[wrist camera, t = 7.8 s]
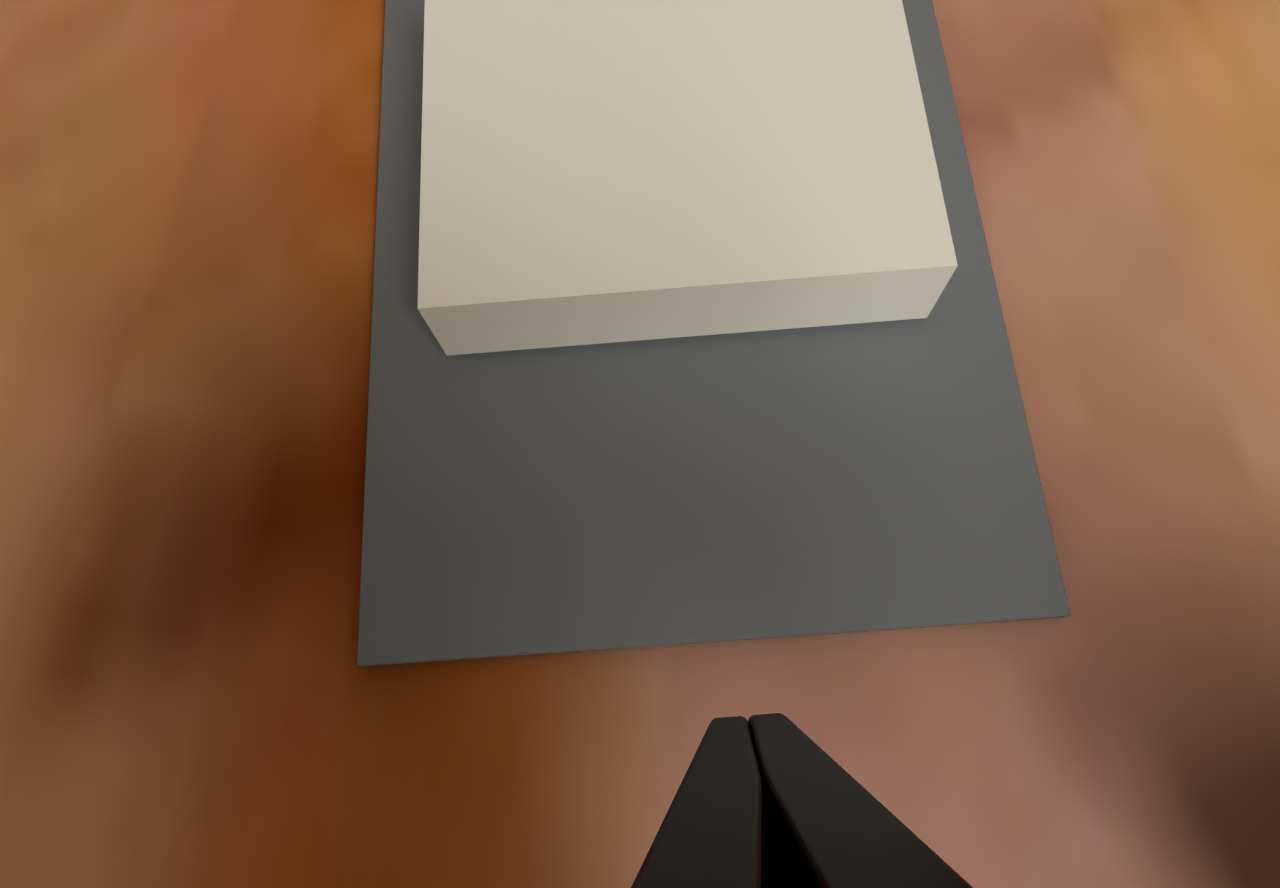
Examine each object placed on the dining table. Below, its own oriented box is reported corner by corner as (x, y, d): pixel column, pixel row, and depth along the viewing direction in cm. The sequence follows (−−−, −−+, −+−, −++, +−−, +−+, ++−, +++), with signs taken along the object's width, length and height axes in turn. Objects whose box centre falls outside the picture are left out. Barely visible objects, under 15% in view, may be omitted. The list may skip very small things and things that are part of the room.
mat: (1062, 617, 19) (1070, 615, 19) (363, 666, 20) (357, 664, 19) (914, -51, 26) (917, -63, 25) (390, -5, 26) (386, -15, 26)
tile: (957, 265, 19) (892, -45, 22) (417, 308, 19) (424, -4, 22) (924, 322, 21) (870, 38, 24) (449, 359, 22) (452, 74, 25)
